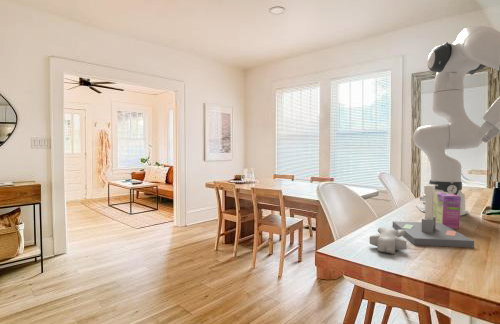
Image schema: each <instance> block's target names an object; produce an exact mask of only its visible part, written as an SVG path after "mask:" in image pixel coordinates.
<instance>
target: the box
mask: <svg viewBox="0 0 500 324" xmlns="http://www.w3.org/2000/svg"><path fill="white" fill-rule="evenodd" d="M460 204H461V197H460V196H457V195H454V194H451V193H448V192H436V191H435V193H434V194H433V216H435V217H436V223H441V224H443V225H445V226H447V227H449V228H451V229H453V230H454V229H455V230H457V229H458V230H460V220H461V219H460V217H461V215H460Z"/></svg>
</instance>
